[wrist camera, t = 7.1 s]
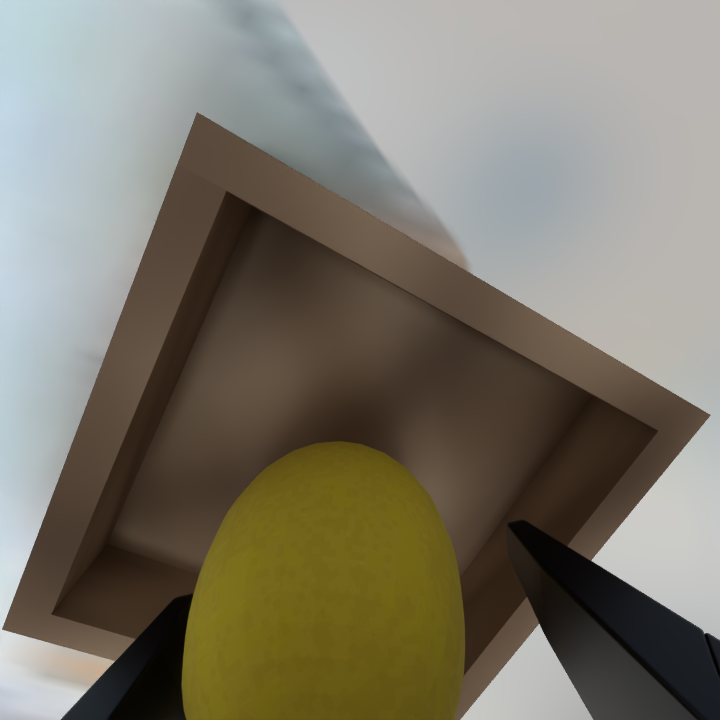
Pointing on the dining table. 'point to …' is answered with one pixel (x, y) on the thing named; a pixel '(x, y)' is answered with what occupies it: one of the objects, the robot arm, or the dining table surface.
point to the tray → (327, 405)
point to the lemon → (327, 597)
